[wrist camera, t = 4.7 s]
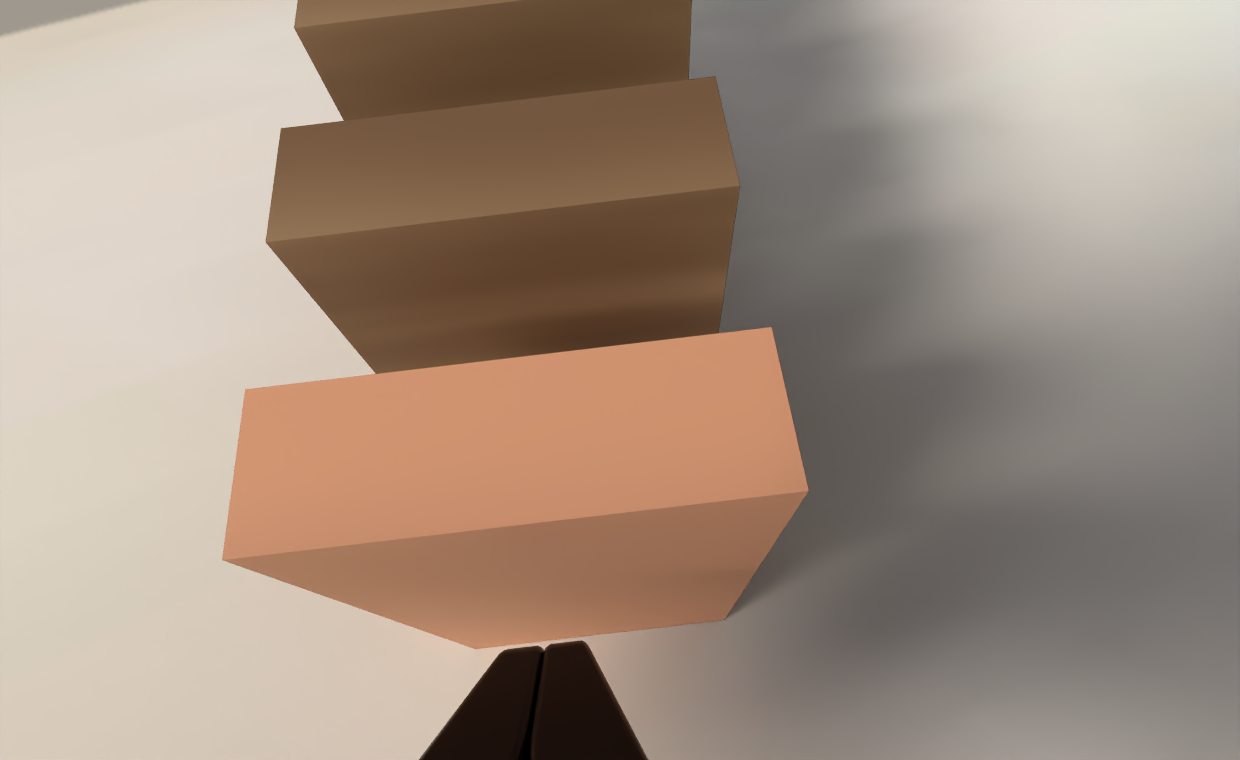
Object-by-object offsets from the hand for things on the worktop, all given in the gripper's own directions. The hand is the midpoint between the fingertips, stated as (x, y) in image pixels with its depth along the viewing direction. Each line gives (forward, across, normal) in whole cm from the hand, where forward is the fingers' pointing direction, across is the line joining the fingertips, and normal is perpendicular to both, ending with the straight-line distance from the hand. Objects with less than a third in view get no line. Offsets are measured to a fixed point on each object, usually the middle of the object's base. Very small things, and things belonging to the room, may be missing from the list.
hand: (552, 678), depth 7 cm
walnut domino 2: (+9, 0, +2) cm, 9 cm away
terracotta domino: (+6, 0, +4) cm, 7 cm away
